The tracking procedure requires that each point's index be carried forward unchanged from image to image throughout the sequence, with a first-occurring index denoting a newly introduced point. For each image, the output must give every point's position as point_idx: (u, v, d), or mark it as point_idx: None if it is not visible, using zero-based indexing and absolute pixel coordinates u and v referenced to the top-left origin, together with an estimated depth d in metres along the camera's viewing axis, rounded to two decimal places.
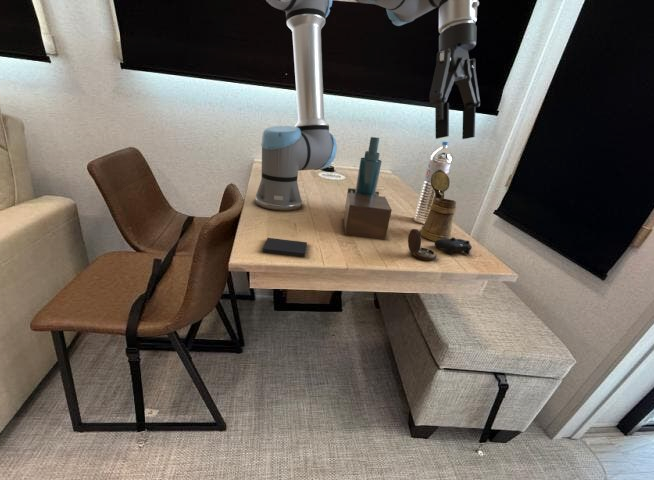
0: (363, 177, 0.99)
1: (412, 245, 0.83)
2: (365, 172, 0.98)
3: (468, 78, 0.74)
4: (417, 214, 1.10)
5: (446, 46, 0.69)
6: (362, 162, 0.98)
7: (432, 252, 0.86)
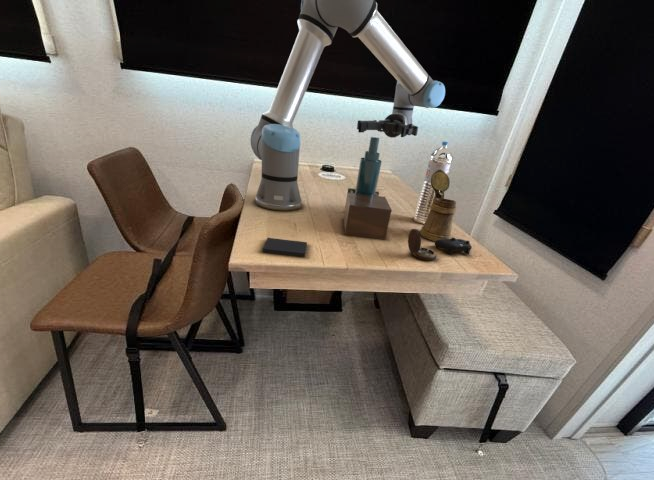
0: (363, 177, 0.99)
1: (412, 245, 0.83)
2: (365, 172, 0.98)
3: (380, 130, 1.13)
4: (417, 214, 1.10)
5: (403, 124, 1.14)
6: (362, 162, 0.98)
7: (432, 252, 0.86)
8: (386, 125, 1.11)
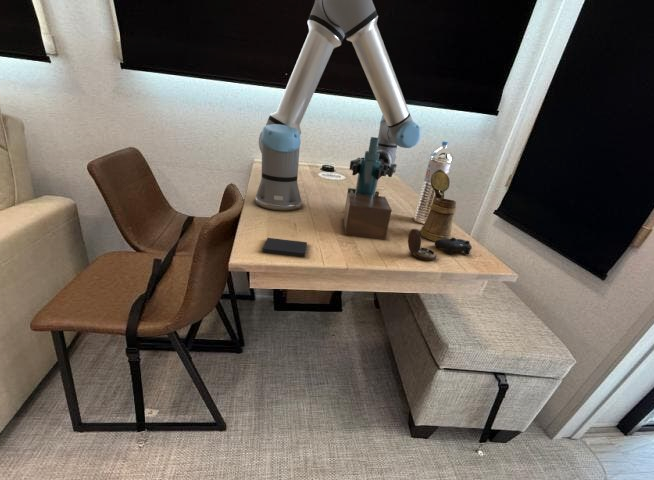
0: (363, 176, 0.99)
1: (412, 245, 0.83)
2: (365, 172, 0.98)
3: None
4: (417, 214, 1.10)
5: (388, 163, 1.11)
6: (362, 162, 0.98)
7: (432, 252, 0.86)
8: None
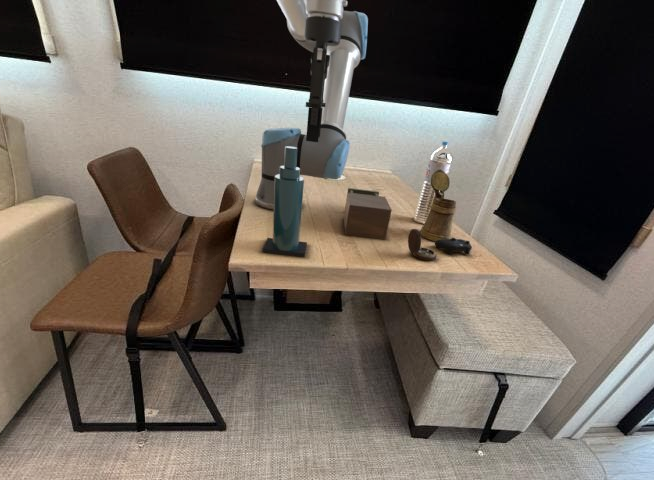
0: (278, 201, 0.71)
1: (412, 245, 0.83)
2: (280, 194, 0.70)
3: (325, 76, 0.74)
4: (417, 214, 1.10)
5: (318, 37, 0.65)
6: (276, 181, 0.70)
7: (432, 252, 0.86)
8: None
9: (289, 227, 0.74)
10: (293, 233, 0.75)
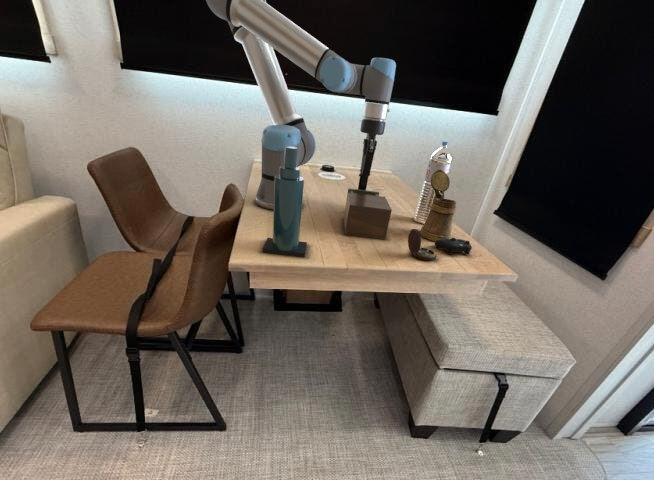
0: (278, 201, 0.71)
1: (412, 245, 0.83)
2: (280, 194, 0.70)
3: None
4: (417, 214, 1.10)
5: (371, 132, 1.01)
6: (276, 181, 0.70)
7: (432, 252, 0.86)
8: None
9: (289, 227, 0.74)
10: (293, 233, 0.75)
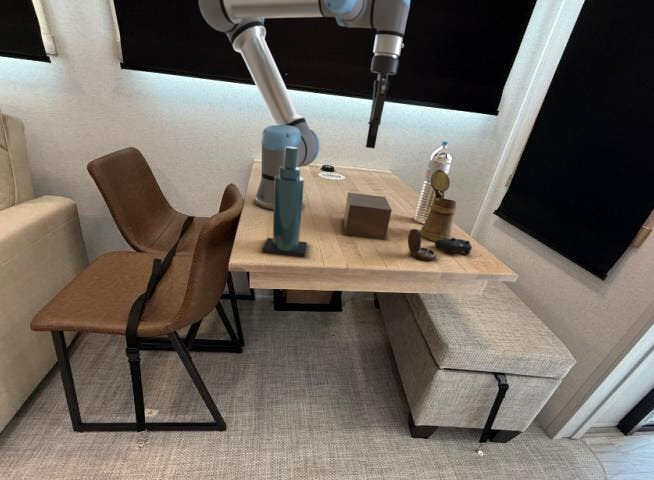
0: (278, 201, 0.71)
1: (412, 245, 0.83)
2: (280, 194, 0.70)
3: None
4: (417, 214, 1.10)
5: (383, 70, 0.91)
6: (276, 181, 0.70)
7: (432, 252, 0.86)
8: None
9: (289, 227, 0.74)
10: (293, 233, 0.75)
